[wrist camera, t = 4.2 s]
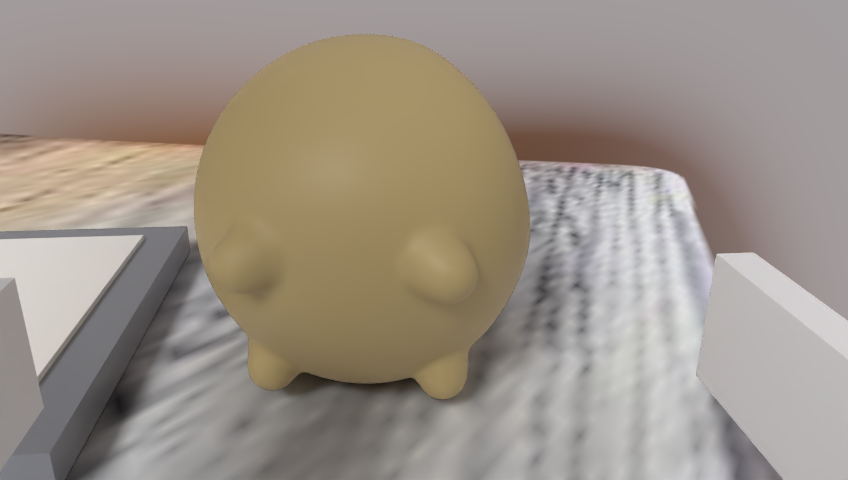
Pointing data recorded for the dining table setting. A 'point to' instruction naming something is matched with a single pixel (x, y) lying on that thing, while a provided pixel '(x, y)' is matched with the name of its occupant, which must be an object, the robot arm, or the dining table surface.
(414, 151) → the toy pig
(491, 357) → the dining table surface
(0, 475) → the breaker panel
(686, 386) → the dining table surface
